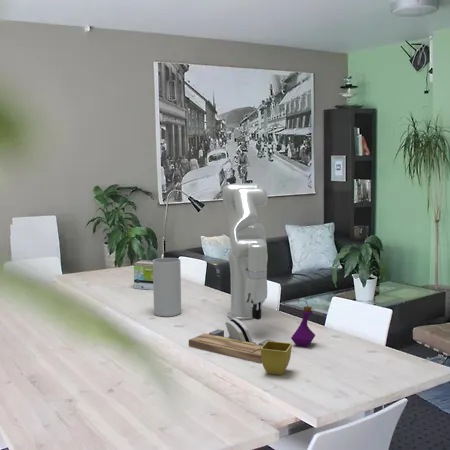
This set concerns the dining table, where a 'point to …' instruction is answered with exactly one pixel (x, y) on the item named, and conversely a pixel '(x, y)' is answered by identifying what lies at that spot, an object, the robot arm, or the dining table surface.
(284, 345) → the flower pot
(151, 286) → the tea box
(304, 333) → the perfume bottle
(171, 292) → the cylinder vase
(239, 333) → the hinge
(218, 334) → the locator block
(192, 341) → the wooden plank
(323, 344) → the dining table surface
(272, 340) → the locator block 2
